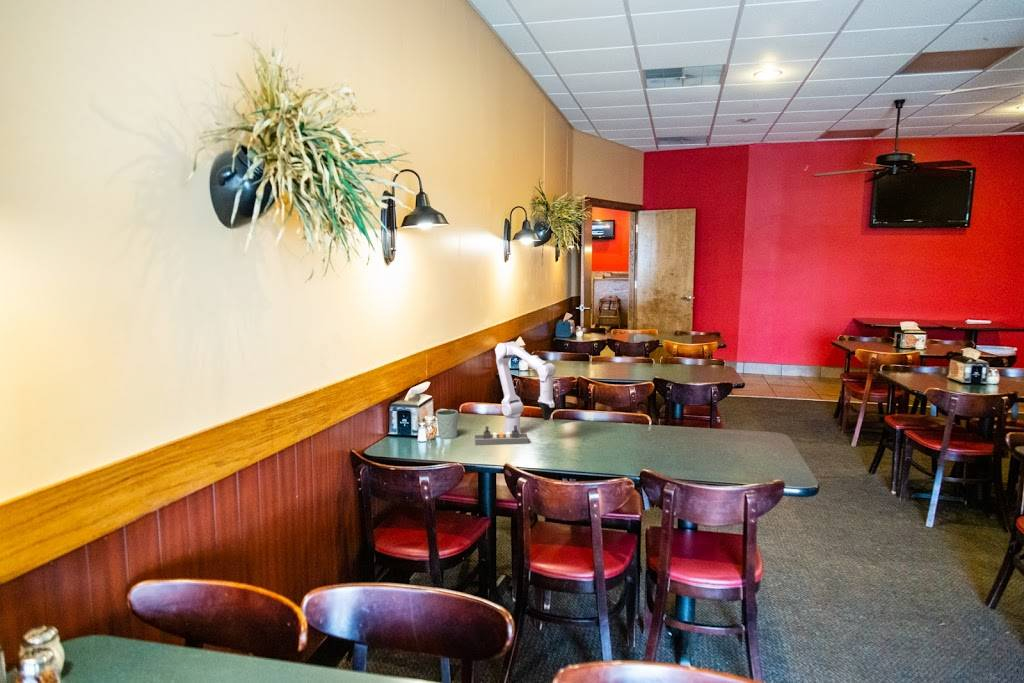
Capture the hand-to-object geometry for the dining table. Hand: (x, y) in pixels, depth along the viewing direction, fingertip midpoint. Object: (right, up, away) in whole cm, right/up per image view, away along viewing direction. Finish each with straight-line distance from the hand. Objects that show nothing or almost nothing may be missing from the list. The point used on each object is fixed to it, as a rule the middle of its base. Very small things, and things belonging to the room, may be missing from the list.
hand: (546, 419), depth 280 cm
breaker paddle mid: (-21, -8, +1) cm, 22 cm away
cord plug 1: (-27, -8, 0) cm, 28 cm away
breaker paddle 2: (-18, -8, +1) cm, 19 cm away
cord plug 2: (-14, -8, +1) cm, 16 cm away
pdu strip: (-21, -10, +1) cm, 23 cm away
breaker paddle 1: (-24, -8, 0) cm, 25 cm away
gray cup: (-46, -10, +10) cm, 48 cm away
